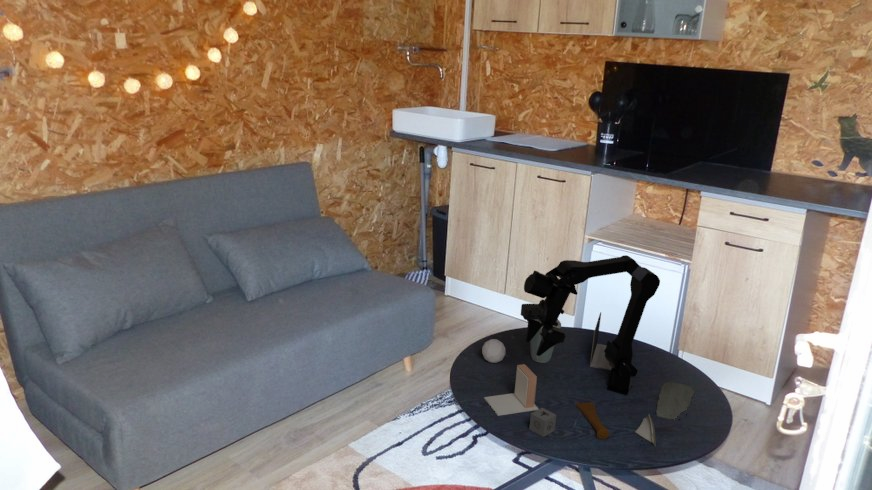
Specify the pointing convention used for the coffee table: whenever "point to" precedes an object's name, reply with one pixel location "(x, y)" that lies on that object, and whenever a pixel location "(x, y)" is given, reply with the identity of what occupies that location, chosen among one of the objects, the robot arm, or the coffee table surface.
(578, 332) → the coffee table surface
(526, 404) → the tile
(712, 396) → the coffee table surface
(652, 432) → the ceramic fragment
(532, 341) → the disposable coffee cup
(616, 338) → the robot arm
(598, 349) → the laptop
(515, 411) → the mat
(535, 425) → the dice cube
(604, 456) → the coffee table surface
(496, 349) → the geometric ball
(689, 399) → the stone slab
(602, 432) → the primitive tool
